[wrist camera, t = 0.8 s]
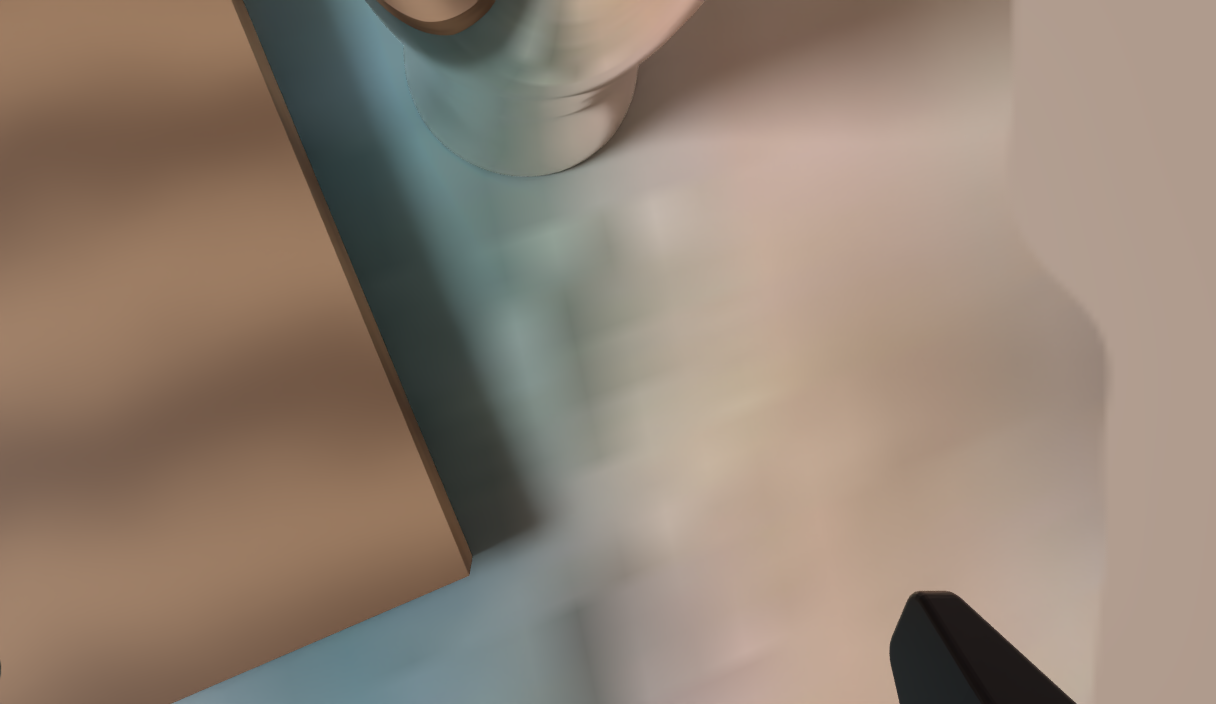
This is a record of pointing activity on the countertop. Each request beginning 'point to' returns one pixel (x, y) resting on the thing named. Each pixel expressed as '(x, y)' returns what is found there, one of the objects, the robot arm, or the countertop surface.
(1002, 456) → the countertop surface
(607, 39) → the beer glass
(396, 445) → the walnut board
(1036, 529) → the countertop surface
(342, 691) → the countertop surface
